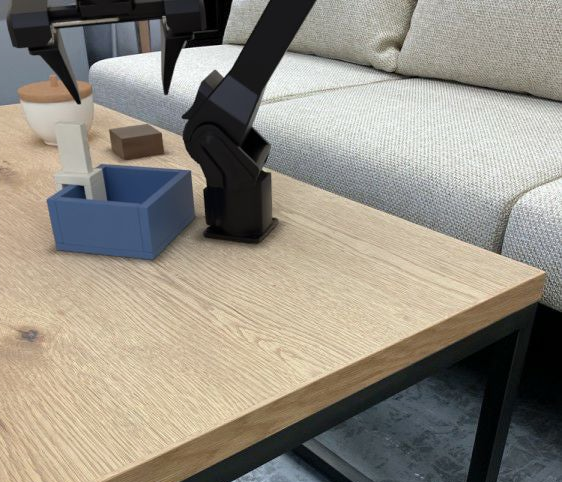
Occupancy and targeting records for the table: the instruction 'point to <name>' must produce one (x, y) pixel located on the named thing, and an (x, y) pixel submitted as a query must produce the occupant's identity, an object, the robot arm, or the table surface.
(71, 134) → the white bracket
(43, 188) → the table surface
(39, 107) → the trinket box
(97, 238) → the box
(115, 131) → the block
